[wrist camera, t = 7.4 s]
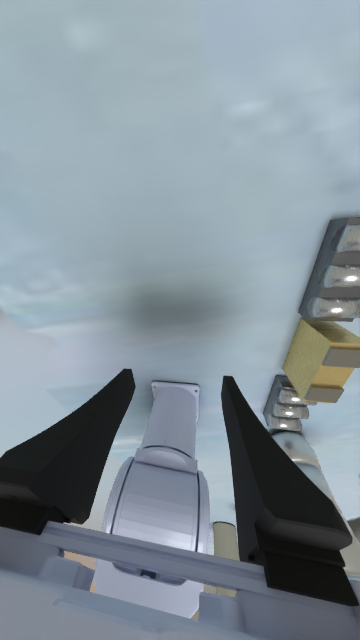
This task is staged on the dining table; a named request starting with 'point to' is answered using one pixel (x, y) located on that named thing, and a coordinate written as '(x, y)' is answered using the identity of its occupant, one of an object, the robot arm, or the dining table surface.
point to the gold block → (321, 360)
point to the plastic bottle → (302, 454)
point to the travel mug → (225, 548)
